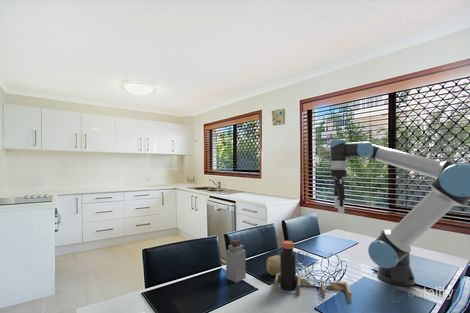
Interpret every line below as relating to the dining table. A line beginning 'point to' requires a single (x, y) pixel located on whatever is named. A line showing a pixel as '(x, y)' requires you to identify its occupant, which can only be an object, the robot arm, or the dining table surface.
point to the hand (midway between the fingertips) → (339, 210)
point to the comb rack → (302, 282)
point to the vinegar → (288, 266)
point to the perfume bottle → (235, 262)
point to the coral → (273, 265)
